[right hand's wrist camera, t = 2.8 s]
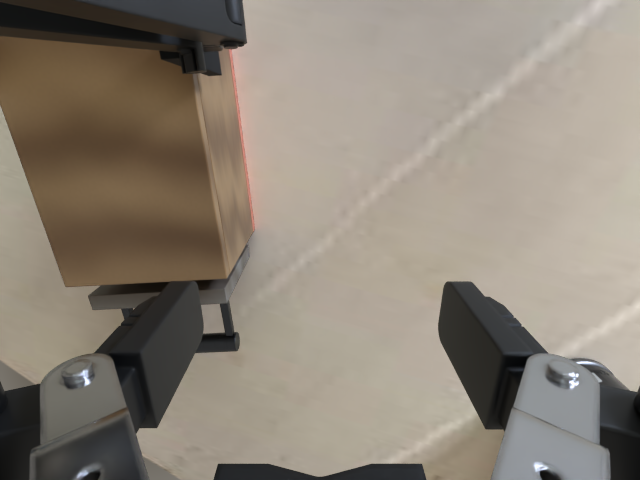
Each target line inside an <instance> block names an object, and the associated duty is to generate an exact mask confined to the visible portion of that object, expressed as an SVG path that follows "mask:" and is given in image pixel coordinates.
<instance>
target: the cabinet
mask: <svg viewBox="0 0 640 480" xmlns="http://www.w3.org/2000/svg"><path fill="white" fill-rule="evenodd" d="M219 58H220V65H221V72H222V75H219V76H207V75H204V74H201V73H198V74H182V69H181V66H178V65H175V64H173V63H170V62H167V61H164V60H161V58H160V53H159V51H157V50H147V49H136V48H125V47H114V46H103V45H92V44H81V43H70V42H60V41H49V40H38V39H27V38H16V37H5V36H0V105H1V108H2V111H3V113H4V116H5V119H6V122H7V124H8V127H9V130H10V133H11V136H12V138H13V141H14V144H15V147H16V150H17V152H18V155H19V158H20V161H21V164H22V166H23V169H24V172H25V175H26V178H27V180H28V183H29V186H30V189H31V192H32V194H33V197H34V200H35V203H36V206H37V208H38V211H39V214H40V217H41V220H42V222H43V225H44V228H45V231H46V234H47V236H48V239H49V242H50V245H51V248H52V250H53V253H54V256H55V259H56V262H57V264H58V267H59V270H60V273H61V276H62V278H63V281H64V284H65V286H66V287H77V286H96V285H116V284H135V283H154V282H171V281H193V280H212V279H227V278H228V276H229V274H230V273H231V271H232V269H233V267H234V265H235V264H236V262H237V260H238V258H239V256H240V255H241V253H242V251H243V249H244V247H245V246H246V244H247V242H248V240H249V238H250V237H251V235H252V233H253V232H254V230H255V226H254V219H253V211H252V204H251V196H250V188H249V181H248V173H247V166H246V158H245V151H244V143H243V135H242V128H241V120H240V113H239V105H238V97H237V90H236V82H235V75H234V67H233V60H232V52H231V49H225V48H224V47H223V50H222V51H219Z"/></svg>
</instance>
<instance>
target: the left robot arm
mask: <svg viewBox="0 0 640 480" xmlns="http://www.w3.org/2000/svg"><path fill="white" fill-rule="evenodd" d="M0 36H5V37H16V38H27V39H38V40H49V41H60V42H70V43H81V44H92V45H103V46H114V47H125V48H136V49H147V50H157V51H159V53H160V58H161V60H164V61H167V62H170V63H173V64H175V65H178V66H181V69H182V74H198V73H201V74H204V75H207V76H219V75H222V72H221V65H220V58H219V51H222V50H223V47H224V48H225V49H236V48H238V47H242V46H244V44H246V43H247V39H246V30H245V20H244V11H243V3H242V0H0Z"/></svg>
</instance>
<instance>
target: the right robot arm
mask: <svg viewBox="0 0 640 480" xmlns="http://www.w3.org/2000/svg"><path fill="white" fill-rule="evenodd" d="M438 331H439V337H440V341H441V343H442V345H443V347H444V349H445V351H446V353H447V355H448V357H449V359H450V361H451V363H452V365H453V367H454V369H455V371H456V373H457V375H458V376H459V378H460V380H461V382H462V384H463V386H464V388H465V390H466V392H467V394H468V396H469V398H470V400H471V402H472V404H473V406H474V408H475V410H476V411H477V413H478V415H479V417H480V419H481V421H482V423H483V425H484V427H485V429H504V431H505V433H504V436H503V440H502V443H501V446H500V450H499V453H498V456H497V460H496V463H495V466H494V470H493V473H492V476H491V480H640V387H639V389H638V391H637V392H634V391H630V390H629V389H628V388H627V387H626V386H625V385H623V384H622V383H621V382H620V381H619V380H618V379H617V378H616V377H615V376H614V375H613V374H612V372H611V371H609V370H608V369H607V368H606V367H605V366H604V365H602V364H601V363H599V362H597V361H594V360H590V359H581V358H579V359H568V358H565V357H562V356H559V355H554V354H548V353H547V352H546V351H545V349H544V348H543V347H542V346H541V345H540V344H539V343H538V342H537V341H536V340H535V339H534V338H533V336H532V335H531V334H530V333H529V332H528V331H527V330H526V329H525V328H524V327H522V326H521V324H520V322H519V321H518V320H517V319H516V318H514V317H513V315H512V314H511V313H510V312H509V311H508V309H507V308H506V307H505V306H504V305H502V304H500V303H499V302H497V301H495V300H494V299H492V298H490V297H485V296H484V295H483V294H482V293H481V292H480V291H479V289H478V288H477V287H476V286H475V285H474V284H473V283H472V282H446V283H445V285H444V289H443V295H442V302H441V309H440V316H439V323H438ZM202 336H203V317H202V310H201V303H200V296H199V289H198V285H197V283H196V282H195V281H171V282H169V283H168V284H167V285H166V287H165V288H164V289H163V290H162V291H161V292H160V294H159V295H158V296H152V297H151V298H149V299H147V300H146V301H144V302H142V303H141V304H139V305H138V306H137V307H136V308H135V309H134V310H133V311H132V312H131V314H130V315H129V317H127V318H126V319H125V320H124V321H123V322H122V323H121V326H119V327H118V328H117V329H116V330H115V331H114V332H113V333H112V334H111V335H110V336H109V337H108V339H107V340H106V341H105V342H104V343H103V344H102V345H101V346H100V347H99V348H98V349H97V351H96V352H95V353H93V354H86V355H81V356H78V357H75V358H72V359H70V360H68V361H66V362H64V363H62V364H60V365H58V366H57V367H55V368H54V369H53V370H51V371H50V372H49V373H48V374H47V375H46V376H45V377H44V379H43V380H42V382H41V384H37V385H32V386H27V387H23V388H18V389H13V390H8V391H4V389H3V387H2V385H1V382H0V480H149V476H148V473H147V470H146V467H145V463H144V460H143V456H142V453H141V450H140V446H139V443H138V440H137V436H136V433H137V431H138V430H139V428H157V427H158V425H159V423H160V421H161V419H162V417H163V415H164V413H165V411H166V409H167V407H168V405H169V403H170V401H171V399H172V397H173V396H174V394H175V392H176V390H177V388H178V386H179V384H180V382H181V380H182V378H183V376H184V374H185V372H186V370H187V368H188V366H189V364H190V362H191V360H192V358H193V356H194V354H195V352H196V350H197V348H198V346H199V344H200V342H201V340H202ZM214 480H426V477H425V473H424V470H423V466H422V464H369V465H366V466H362V467H358V468H354V469H351V470H347V471H343V472H339V473H336V474H332V475H328V476H324V477H316V476H312V475H308V474H304V473H301V472H297V471H293V470H289V469H286V468H282V467H278V466H274V465H271V464H218V466H217V470H216V473H215V477H214Z"/></svg>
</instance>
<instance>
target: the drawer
mask: <svg viewBox="0 0 640 480" xmlns="http://www.w3.org/2000/svg"><path fill="white" fill-rule="evenodd" d="M249 257H250V254H249V247H248V245H246V246H245V247H244V249H243V251H242V253H241V255H240V256H239V258H238V260H237V262H236V264H235V265H234V267H233V269H232V271H231V273H230V274H229V276H228V278H227V279H212V280H193V281H195V282H196V283H197V285H198V289H199V296H200V303H201V305H202V304H220V307H221V312H222V318H223V323H224V329H225V333H209V334H203V336H202V340H201V342H200V344H199V346H198V348H197V350H196V352H195V353H207V352H228V351H238V349H239V344H240V338H239V333H238V332H234V327H233V321H232V316H231V310H230V304H229V298H230V296H231V294H232V292H233V290H234V288H235V286H236V284H237V282H238V280H239V278H240V276H241V273H242V271H243V269H244V267H245V265H246V263H247V261H248V259H249ZM168 283H169V282H154V283H135V284H116V285H101V286H100V287H99V288H97V289H96V290H95V291H94V292H92V293H91V294H90V295H89V296H88V298H89V301H90V304H91V306H92V309H93V310H103V309H121V310H122V313H123V316H124V320H125V319H126V318H127V317H129V315H130V314H131V312H132V311H133V308H136V307H137V306H138V305H139V304H141V303H142V302H144V301H146V300H147V299H149V298H151V297H152V296H158V295H159V294H160V292H161V291H162V290H163V289H164V288H165V287H166V285H167V284H168Z"/></svg>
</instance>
